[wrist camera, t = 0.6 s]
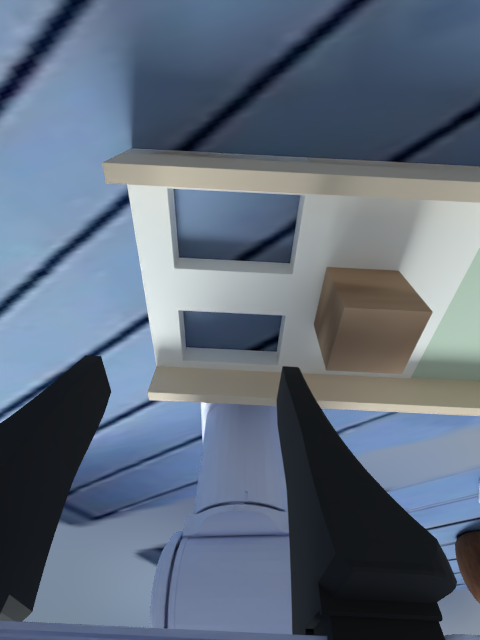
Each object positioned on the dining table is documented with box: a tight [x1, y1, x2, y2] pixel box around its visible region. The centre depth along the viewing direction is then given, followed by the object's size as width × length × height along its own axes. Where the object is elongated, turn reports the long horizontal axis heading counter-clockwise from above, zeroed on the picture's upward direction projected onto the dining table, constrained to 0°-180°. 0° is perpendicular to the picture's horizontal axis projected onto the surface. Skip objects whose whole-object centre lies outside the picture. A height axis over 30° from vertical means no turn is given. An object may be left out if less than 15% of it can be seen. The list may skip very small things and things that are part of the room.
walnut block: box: [314, 267, 433, 374], centre depth 18 cm, size 4×4×4 cm
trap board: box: [102, 148, 480, 416], centre depth 19 cm, size 15×28×4 cm, turn 88°
